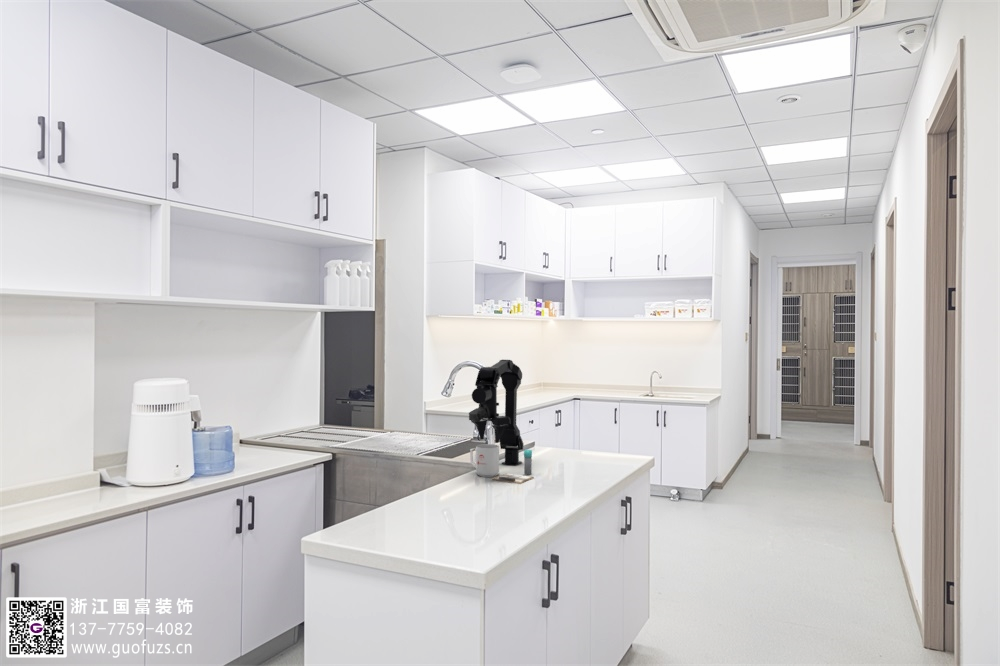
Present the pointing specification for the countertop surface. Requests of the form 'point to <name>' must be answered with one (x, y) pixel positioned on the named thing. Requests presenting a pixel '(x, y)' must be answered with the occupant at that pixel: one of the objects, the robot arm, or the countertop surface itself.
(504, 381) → the robot arm
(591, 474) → the countertop surface
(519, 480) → the clipboard
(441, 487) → the countertop surface
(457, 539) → the countertop surface
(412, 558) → the countertop surface
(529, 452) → the marker
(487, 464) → the mug
